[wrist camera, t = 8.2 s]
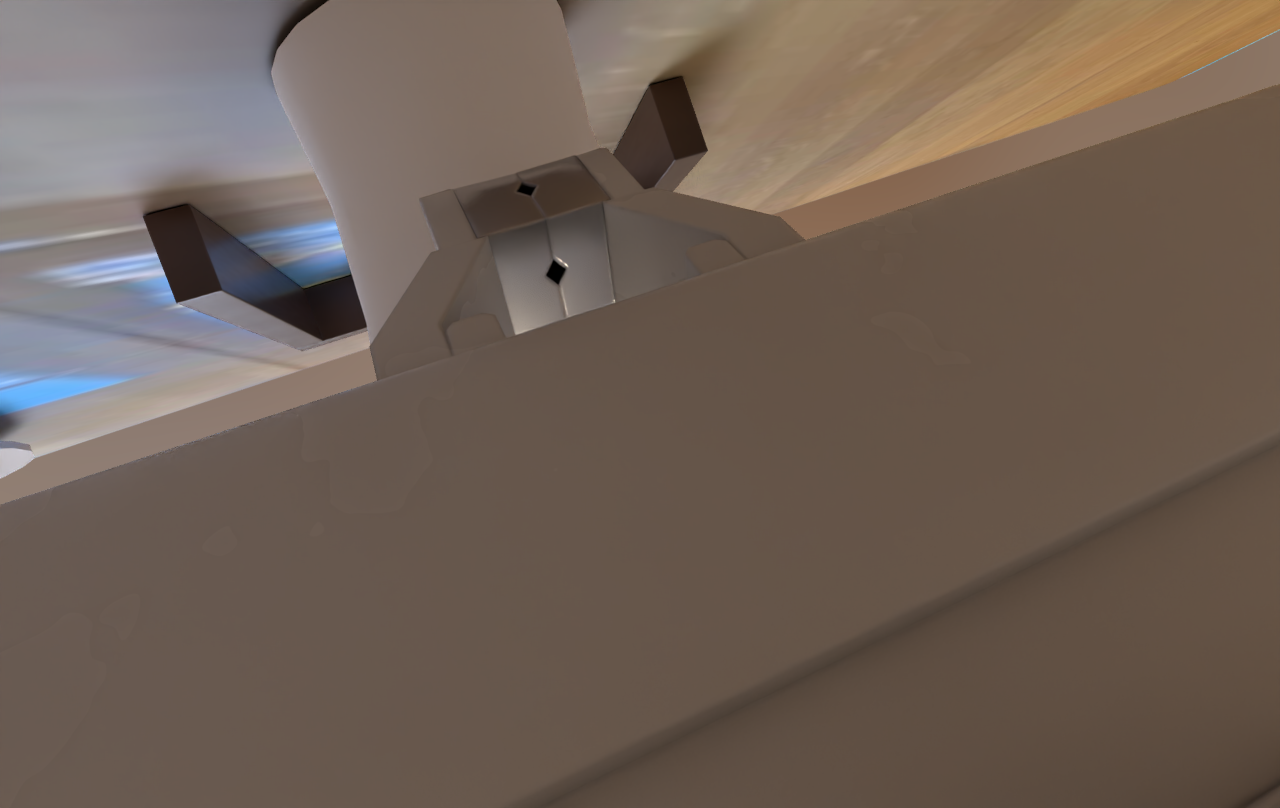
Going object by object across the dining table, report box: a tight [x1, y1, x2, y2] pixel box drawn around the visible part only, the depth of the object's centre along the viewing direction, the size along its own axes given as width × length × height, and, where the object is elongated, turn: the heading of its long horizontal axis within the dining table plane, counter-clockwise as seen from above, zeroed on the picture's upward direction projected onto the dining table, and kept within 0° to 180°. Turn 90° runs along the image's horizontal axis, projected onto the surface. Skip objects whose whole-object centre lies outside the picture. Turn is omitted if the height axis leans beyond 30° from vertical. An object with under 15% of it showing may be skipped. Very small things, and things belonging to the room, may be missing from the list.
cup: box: [271, 0, 599, 345], centre depth 16 cm, size 10×10×14 cm
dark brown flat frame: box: [143, 77, 708, 351], centre depth 27 cm, size 16×14×2 cm
